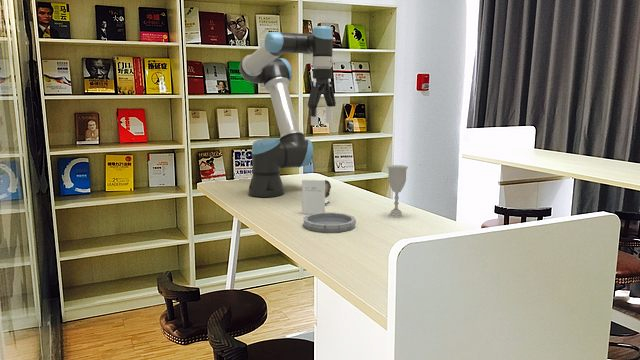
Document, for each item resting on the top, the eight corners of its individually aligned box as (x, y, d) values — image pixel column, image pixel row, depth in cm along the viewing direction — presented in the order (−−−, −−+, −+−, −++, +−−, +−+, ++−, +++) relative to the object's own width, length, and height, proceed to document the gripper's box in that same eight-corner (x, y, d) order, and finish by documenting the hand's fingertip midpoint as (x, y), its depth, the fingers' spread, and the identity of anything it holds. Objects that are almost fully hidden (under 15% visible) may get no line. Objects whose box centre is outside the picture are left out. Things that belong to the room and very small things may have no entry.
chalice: (407, 215, 191) (409, 165, 188) (404, 219, 185) (406, 168, 181) (387, 213, 193) (389, 164, 190) (383, 217, 187) (385, 167, 184)
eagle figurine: (321, 200, 213) (321, 178, 212) (335, 203, 208) (335, 181, 207) (308, 204, 208) (308, 181, 206) (321, 206, 203) (322, 183, 201)
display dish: (294, 228, 172) (294, 221, 172) (317, 217, 187) (317, 210, 187) (342, 235, 165) (343, 227, 165) (362, 222, 180) (362, 215, 180)
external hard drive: (302, 212, 194) (302, 179, 191) (324, 213, 193) (325, 179, 190) (301, 213, 192) (301, 180, 190) (324, 214, 191) (324, 180, 189)
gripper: (317, 67, 190) (316, 126, 194) (344, 69, 212) (343, 122, 216) (298, 67, 193) (298, 126, 197) (327, 69, 215) (326, 121, 219)
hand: (322, 124), depth 207 cm, fingers open, 13 cm apart
